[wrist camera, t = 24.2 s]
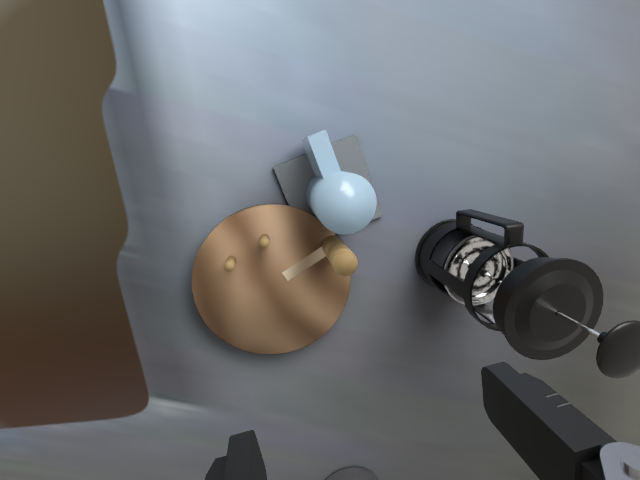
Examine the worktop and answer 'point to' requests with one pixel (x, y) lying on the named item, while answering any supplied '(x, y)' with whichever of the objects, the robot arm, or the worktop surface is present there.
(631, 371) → the french press
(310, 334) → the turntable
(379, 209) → the slate mat
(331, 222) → the pale blue carafe
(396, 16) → the worktop surface
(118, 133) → the worktop surface
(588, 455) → the robot arm
